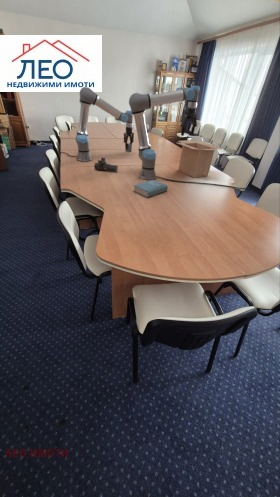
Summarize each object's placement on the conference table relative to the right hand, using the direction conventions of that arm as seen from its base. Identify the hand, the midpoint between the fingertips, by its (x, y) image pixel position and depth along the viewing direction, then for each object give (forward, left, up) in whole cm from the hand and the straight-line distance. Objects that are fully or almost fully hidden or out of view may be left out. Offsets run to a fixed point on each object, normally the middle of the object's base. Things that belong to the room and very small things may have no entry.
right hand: (187, 135), depth 203 cm
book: (+38, +51, -34) cm, 72 cm away
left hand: (+50, -60, -27) cm, 83 cm away
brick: (+50, -60, -30) cm, 83 cm away
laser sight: (+75, +1, -34) cm, 83 cm away
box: (-13, 0, -34) cm, 37 cm away
